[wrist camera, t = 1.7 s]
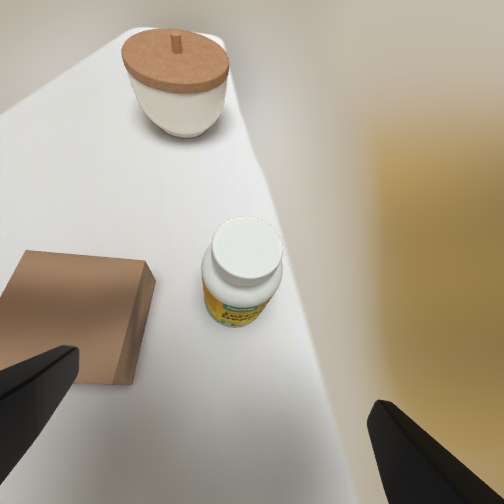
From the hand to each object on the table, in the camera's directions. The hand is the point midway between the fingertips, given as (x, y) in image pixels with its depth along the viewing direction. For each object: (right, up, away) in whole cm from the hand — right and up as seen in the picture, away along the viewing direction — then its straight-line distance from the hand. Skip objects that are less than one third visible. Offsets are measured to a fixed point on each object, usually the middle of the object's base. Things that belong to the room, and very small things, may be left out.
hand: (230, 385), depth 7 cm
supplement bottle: (-1, 0, +15) cm, 15 cm away
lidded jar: (-8, +21, +25) cm, 33 cm away
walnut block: (-12, -2, +12) cm, 17 cm away
